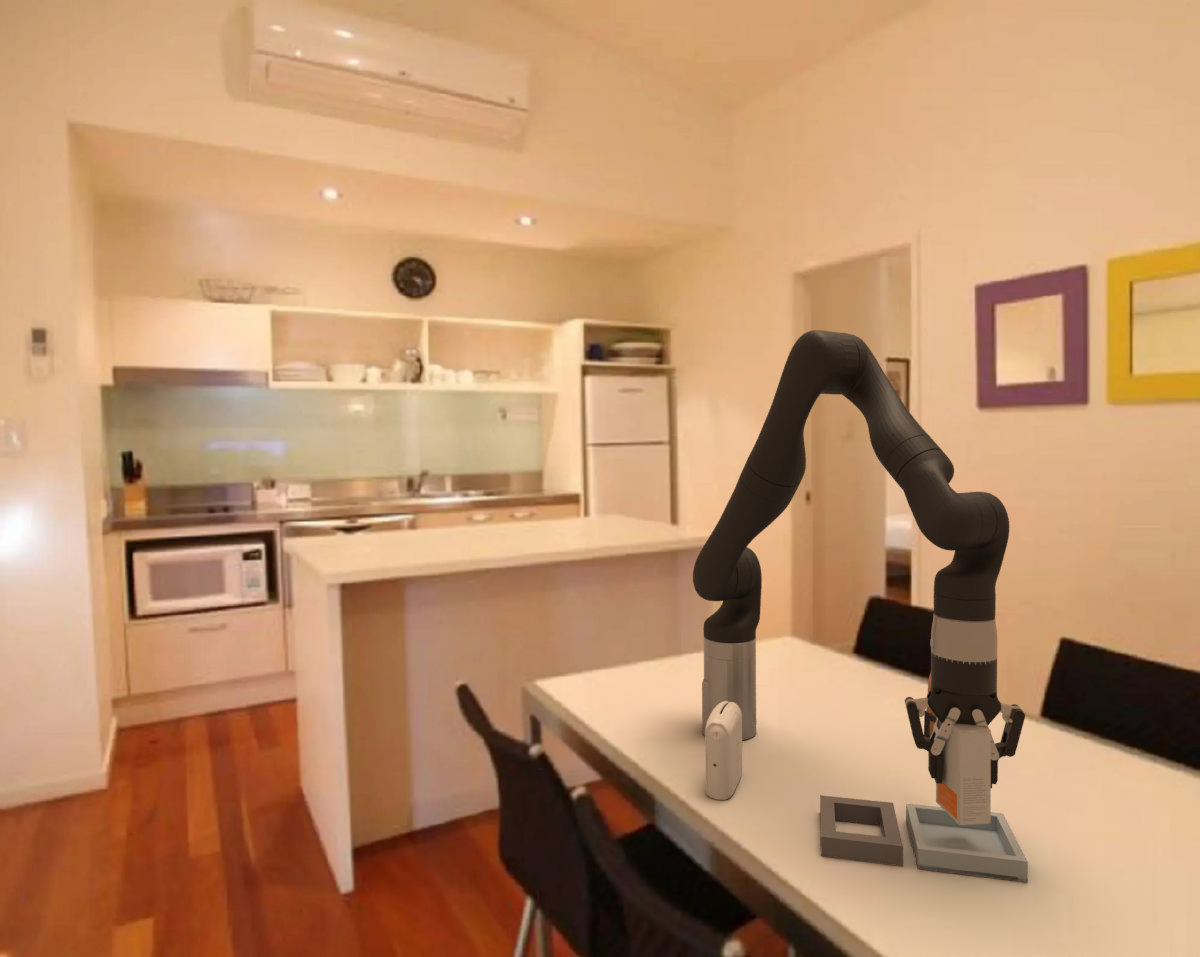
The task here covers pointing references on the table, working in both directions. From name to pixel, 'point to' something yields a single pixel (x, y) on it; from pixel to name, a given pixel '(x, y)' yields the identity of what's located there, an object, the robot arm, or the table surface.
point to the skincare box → (966, 775)
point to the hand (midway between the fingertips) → (962, 782)
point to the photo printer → (723, 750)
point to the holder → (860, 845)
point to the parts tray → (965, 845)
